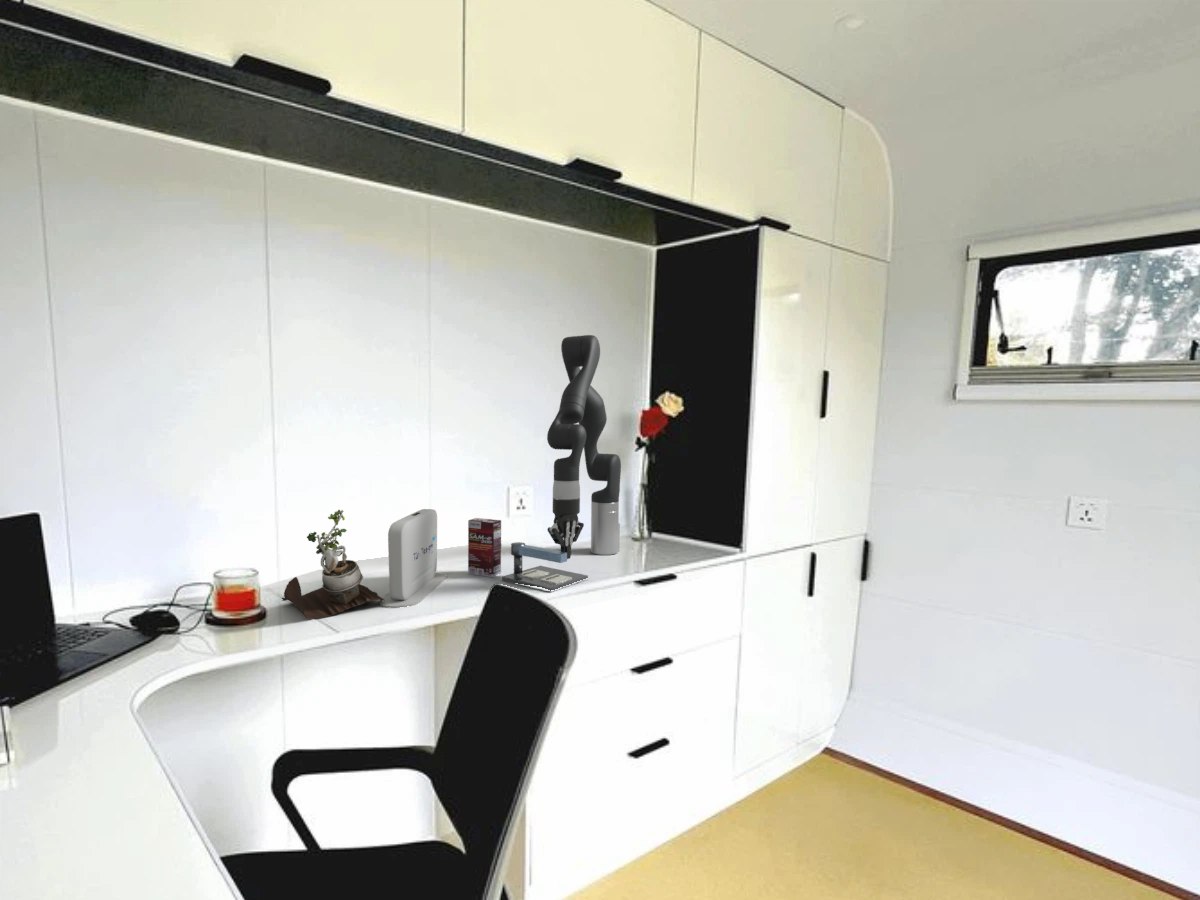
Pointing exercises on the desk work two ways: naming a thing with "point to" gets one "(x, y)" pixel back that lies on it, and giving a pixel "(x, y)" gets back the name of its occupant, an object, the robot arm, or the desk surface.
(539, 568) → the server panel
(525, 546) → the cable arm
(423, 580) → the wireless router
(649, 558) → the desk surface
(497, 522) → the supplement box
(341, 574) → the potted plant
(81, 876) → the desk surface
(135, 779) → the desk surface
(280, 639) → the desk surface
